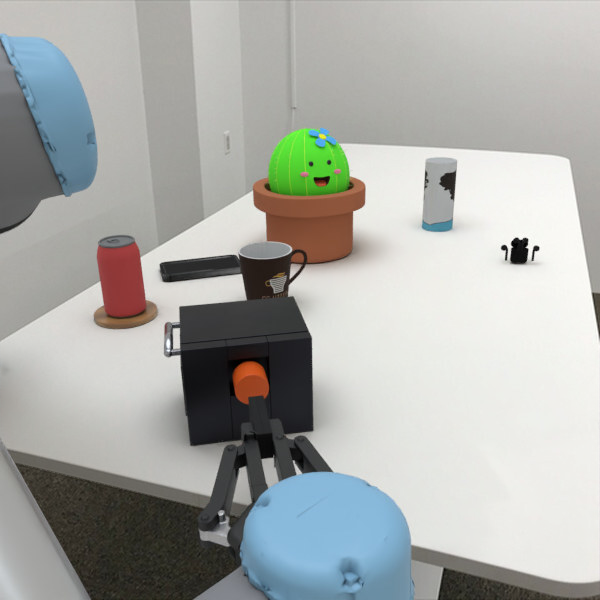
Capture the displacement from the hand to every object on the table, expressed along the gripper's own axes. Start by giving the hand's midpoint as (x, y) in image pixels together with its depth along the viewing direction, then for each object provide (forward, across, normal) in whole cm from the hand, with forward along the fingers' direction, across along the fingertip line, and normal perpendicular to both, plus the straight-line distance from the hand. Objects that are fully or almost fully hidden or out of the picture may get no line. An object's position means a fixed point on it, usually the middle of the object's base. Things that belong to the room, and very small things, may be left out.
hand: (256, 407), depth 65 cm
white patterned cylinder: (+78, +50, -8) cm, 93 cm away
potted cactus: (+69, +19, -8) cm, 72 cm away
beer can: (+44, -16, -7) cm, 48 cm away
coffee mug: (+42, +8, -8) cm, 44 cm away
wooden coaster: (+44, -16, -8) cm, 48 cm away
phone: (+62, -4, -8) cm, 63 cm away
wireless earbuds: (+53, +56, -8) cm, 77 cm away
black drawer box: (+12, 0, -8) cm, 15 cm away
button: (+5, 0, -2) cm, 5 cm away
